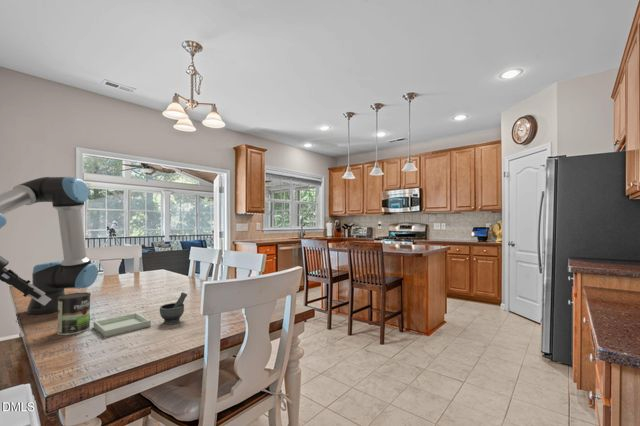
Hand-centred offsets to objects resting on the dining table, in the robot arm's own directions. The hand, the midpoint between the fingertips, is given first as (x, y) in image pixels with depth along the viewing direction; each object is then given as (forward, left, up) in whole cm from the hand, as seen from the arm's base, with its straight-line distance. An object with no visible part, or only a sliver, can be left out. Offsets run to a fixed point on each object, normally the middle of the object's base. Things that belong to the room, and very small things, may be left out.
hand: (45, 299), depth 116 cm
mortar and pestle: (+18, +40, -15) cm, 46 cm away
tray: (+9, +23, -14) cm, 29 cm away
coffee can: (-1, +9, -15) cm, 17 cm away
